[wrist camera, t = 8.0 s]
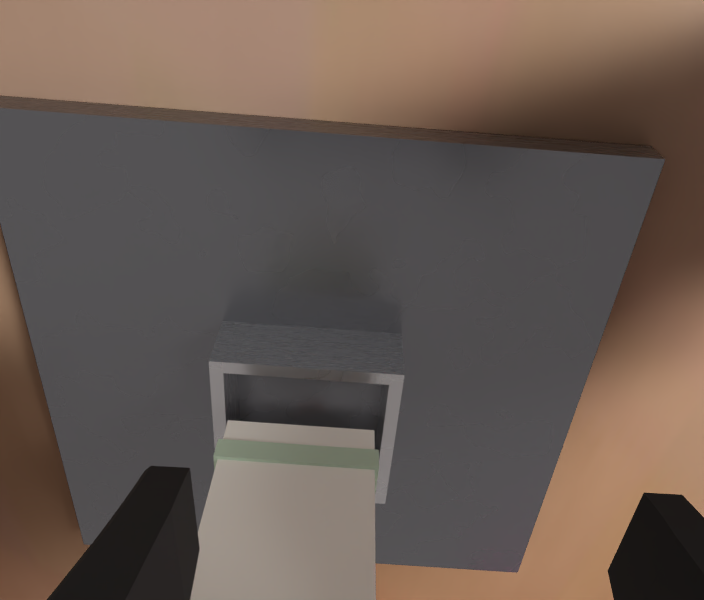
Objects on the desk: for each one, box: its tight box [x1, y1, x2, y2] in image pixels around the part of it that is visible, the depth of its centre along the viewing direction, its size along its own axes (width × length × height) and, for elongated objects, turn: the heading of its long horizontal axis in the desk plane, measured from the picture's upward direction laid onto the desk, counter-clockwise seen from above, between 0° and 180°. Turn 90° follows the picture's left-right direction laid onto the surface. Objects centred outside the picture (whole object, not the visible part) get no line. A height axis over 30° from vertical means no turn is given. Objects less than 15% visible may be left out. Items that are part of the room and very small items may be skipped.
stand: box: [0, 96, 665, 572], centre depth 20 cm, size 18×18×4 cm
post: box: [190, 420, 379, 600], centre depth 16 cm, size 4×4×6 cm
